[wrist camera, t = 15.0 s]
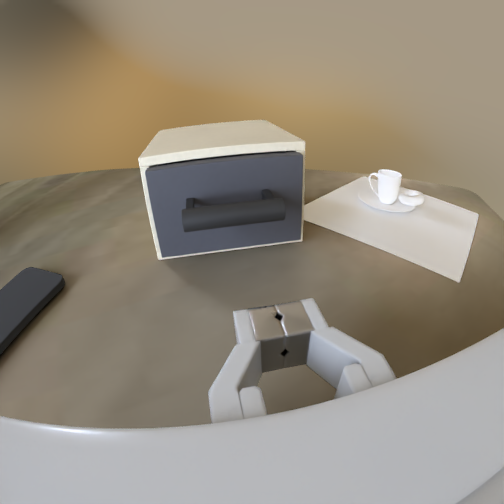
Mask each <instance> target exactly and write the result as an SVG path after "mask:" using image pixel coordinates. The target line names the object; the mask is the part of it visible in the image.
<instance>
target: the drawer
mask: <svg viewBox="0 0 504 504" xmlns="http://www.w3.org/2000/svg"><path fill="white" fill-rule="evenodd" d="M145 176H146V182H147V187H148V193H149V198H150V204H151V209H152V214H153V219H154V224H155V228H156V233H157V238H158V242H159V247H160V251H161V256H162V258H165V257H173V256H180V255H188V254H195V253H203V252H210V251H218V250H225V249H233V248H241V247H249V246H256V245H264V244H272V243H280V242H287V241H295V240H301V222H302V191H303V155H302V154H301V153H299V152H288V153H286V151H277V152H262V153H249V154H238V155H228V156H218V157H209V158H201V159H193V160H185V161H178V162H171V163H164V164H158V166H156V167H150V168H147V169H146V171H145Z"/></svg>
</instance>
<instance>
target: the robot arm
mask: <svg viewBox="0 0 504 504" xmlns="http://www.w3.org/2000/svg"><path fill="white" fill-rule="evenodd" d="M233 316H234V324H235V333H236V340H237V345H235V347H234V348H233V350H232V352H231V354H230V355H229V357H228V359H227V361H226V362H225V364H224V366H223V368H222V369H221V371H220V373H219V374H218V376H217V378H216V380H215V381H214V383H213V385H212V386H211V388H210V390H209V391H208V394H209V403H210V412H211V421H212V424H204V425H194V426H182V427H166V428H139V429H115V428H88V427H73V426H62V425H53V424H44V423H37V422H30V421H24V420H18V419H12V418H8V417H3V416H0V504H504V328H503V329H501V330H499V331H498V332H496V333H494V334H492V335H490V336H489V337H487V338H485V339H483V340H481V341H479V342H478V343H476V344H474V345H472V346H470V347H468V348H466V349H464V350H462V351H460V352H458V353H456V354H454V355H452V356H450V357H447V358H445V359H443V360H441V361H439V362H437V363H434V364H432V365H430V366H427V367H425V368H423V369H420V370H418V371H415V372H413V373H410V374H408V375H405V376H403V377H400V378H398V379H397V378H396V376H395V374H394V373H393V371H392V369H391V367H390V366H389V364H388V362H387V361H386V359H385V357H384V356H383V354H381V353H380V352H378V351H376V350H374V349H372V348H370V347H369V346H367V345H365V344H363V343H361V342H360V341H358V340H356V339H354V338H352V337H351V336H349V335H347V334H345V333H343V332H342V331H340V330H338V329H336V328H335V327H329V326H328V324H327V322H326V320H325V318H324V317H323V315H322V313H321V311H320V309H319V307H318V305H317V303H316V301H315V300H314V299H313V298H309V299H304V300H300V301H294V302H289V303H283V304H277V305H272V306H265V307H257V308H250V309H244V310H236V311H233ZM303 364H306V365H307V366H308V367H309V368H311V369H312V370H313V371H314V372H315V373H317V374H318V375H319V376H320V377H322V378H323V379H324V380H325V381H327V382H328V383H329V384H331V385H332V386H333V387H334V388H336V389H337V390H336V393H335V396H334V399H333V400H330V401H327V402H323V403H319V404H315V405H311V406H307V407H303V408H299V409H294V410H290V411H285V412H281V413H276V414H271V415H268V414H267V411H266V407H265V403H264V399H263V396H262V392H261V388H259V387H257V385H258V383H259V380H260V378H261V375H262V373H263V372H268V371H273V370H277V369H282V368H287V367H293V366H298V365H303Z"/></svg>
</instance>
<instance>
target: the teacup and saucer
mask: <svg viewBox="0 0 504 504" xmlns="http://www.w3.org/2000/svg"><path fill="white" fill-rule="evenodd" d="M372 175H376V176H377V178H378V180H377V187H374V186H373V184H372V181H371V180H370V179H369V180H368V184H369V186H370V187H367V188H363V189H361V190H360V191H359V192H358V193H357V198H358V199H359V200H360V201H361V202H362V203H364V204H365V205H367V206H369V207H371V208H374V209H377V210H380V211H384V212H390V213H408V212H411V211H413V210H414V209H415V208H416V207H418V206H421V205H423V204H424V202H425V200H426V196H425V195H424V194H423V193H421V192H419V191H415V190H409V189H405V190H402V191H401V192H400V189H401V187H400V184H401V179H402V175H401V174H400V173H399V172H396V171H393V170H386V169H384V170H379V171H378V173H372V174H370V176H372Z"/></svg>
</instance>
